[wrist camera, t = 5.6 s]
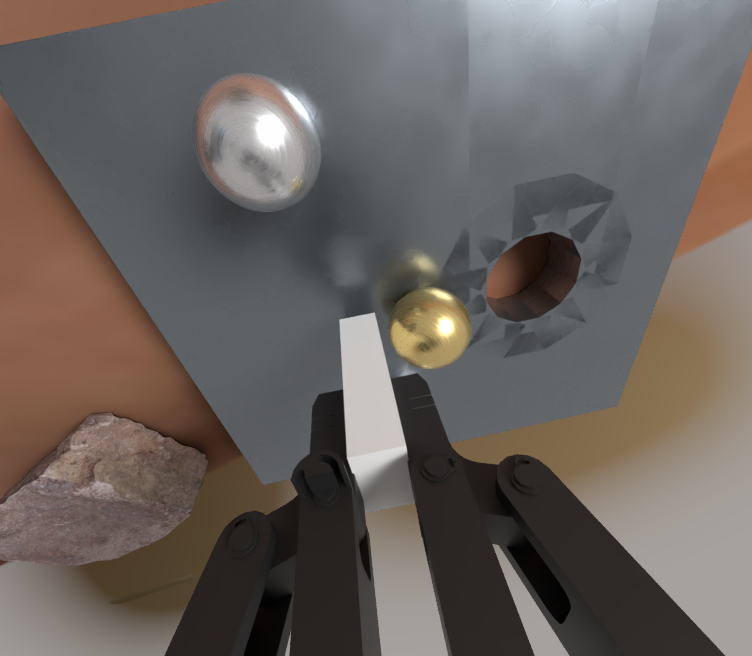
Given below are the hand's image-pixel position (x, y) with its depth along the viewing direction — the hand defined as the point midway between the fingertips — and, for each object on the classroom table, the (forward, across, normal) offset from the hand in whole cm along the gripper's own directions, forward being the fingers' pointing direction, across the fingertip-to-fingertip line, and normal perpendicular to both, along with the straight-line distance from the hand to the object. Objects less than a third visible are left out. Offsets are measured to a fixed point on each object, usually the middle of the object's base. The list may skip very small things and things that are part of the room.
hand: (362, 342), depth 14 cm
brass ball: (0, +3, 0) cm, 3 cm away
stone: (+4, -18, -10) cm, 21 cm away
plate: (+4, +3, 0) cm, 5 cm away
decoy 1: (0, -2, +8) cm, 8 cm away
